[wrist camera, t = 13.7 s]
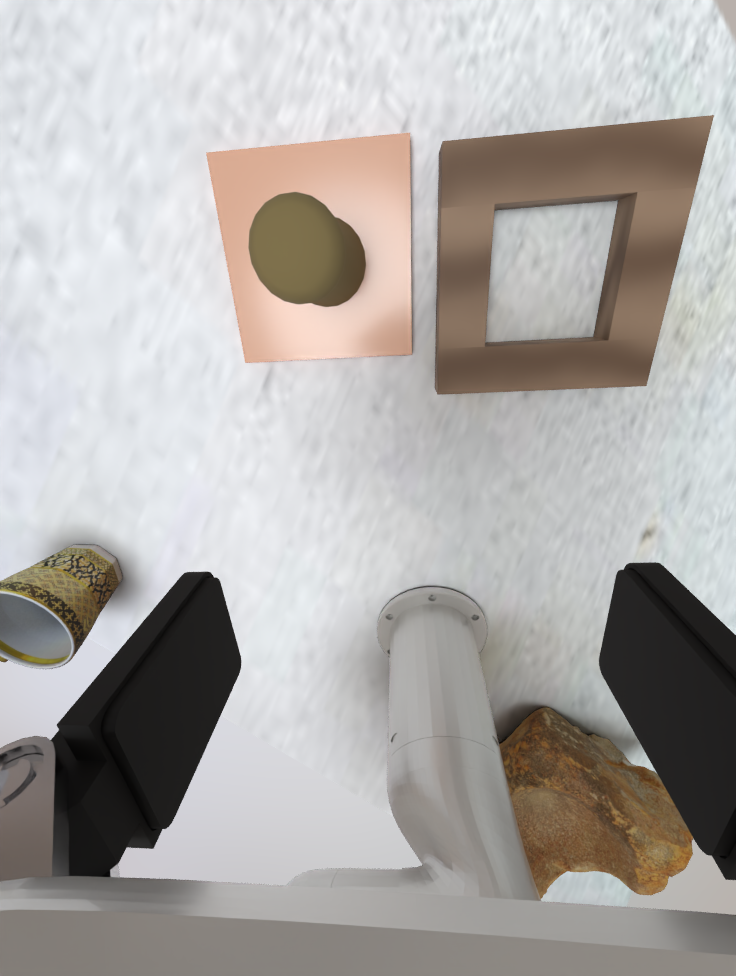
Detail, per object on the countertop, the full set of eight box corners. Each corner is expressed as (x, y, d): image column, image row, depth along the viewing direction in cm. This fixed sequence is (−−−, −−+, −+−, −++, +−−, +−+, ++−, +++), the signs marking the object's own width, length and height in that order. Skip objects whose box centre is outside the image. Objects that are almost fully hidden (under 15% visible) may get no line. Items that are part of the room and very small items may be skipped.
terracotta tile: (411, 352, 33) (411, 354, 32) (249, 361, 34) (245, 362, 33) (409, 137, 27) (410, 132, 26) (212, 157, 28) (206, 152, 27)
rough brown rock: (595, 663, 48) (658, 799, 35) (654, 745, 52) (732, 896, 39) (436, 722, 57) (437, 849, 43) (497, 789, 61) (516, 926, 47)
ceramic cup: (74, 514, 43) (-12, 572, 34) (152, 569, 46) (92, 636, 37) (27, 577, 47) (-60, 643, 39) (101, 624, 50) (36, 696, 41)
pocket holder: (629, 379, 33) (646, 385, 31) (435, 387, 34) (437, 394, 32) (686, 130, 26) (713, 115, 24) (438, 153, 27) (442, 141, 25)
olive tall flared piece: (335, 194, 28) (301, 141, 18) (381, 276, 30) (373, 268, 20) (270, 249, 30) (206, 228, 20) (317, 323, 32) (281, 336, 22)
